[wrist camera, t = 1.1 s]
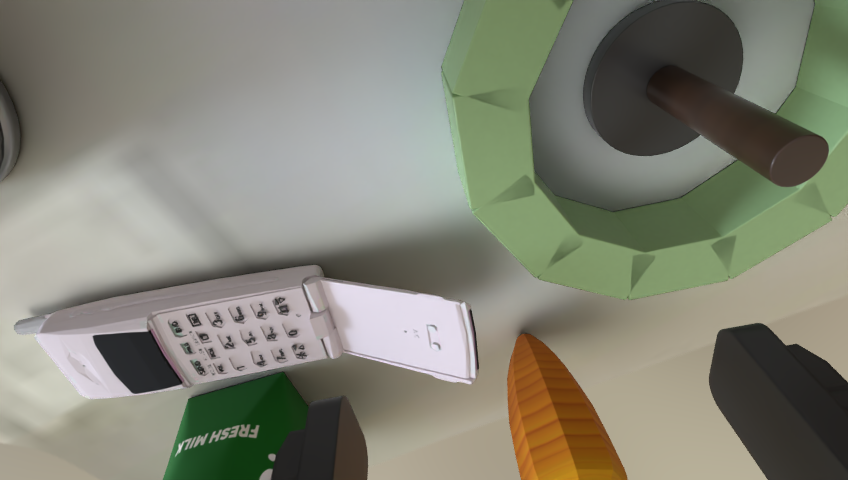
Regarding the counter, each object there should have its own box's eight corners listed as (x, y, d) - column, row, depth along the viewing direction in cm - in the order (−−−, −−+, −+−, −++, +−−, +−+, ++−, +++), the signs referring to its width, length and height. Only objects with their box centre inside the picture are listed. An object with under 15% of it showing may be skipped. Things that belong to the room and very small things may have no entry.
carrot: (557, 298, 30) (682, 563, 18) (563, 352, 33) (676, 614, 21) (479, 316, 31) (549, 589, 18) (492, 368, 33) (560, 636, 21)
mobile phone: (482, 384, 25) (14, 462, 26) (465, 310, 30) (74, 376, 31) (472, 296, 22) (-64, 387, 22) (454, 229, 27) (16, 303, 27)
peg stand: (557, 126, 24) (644, 227, 16) (633, -26, 20) (793, 7, 13) (673, 164, 26) (804, 272, 18) (761, 29, 22) (974, 89, 14)
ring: (393, 204, 26) (395, 246, 22) (573, -315, 16) (625, -379, 12) (698, 282, 30) (737, 327, 27) (984, -77, 20) (1102, -77, 17)
